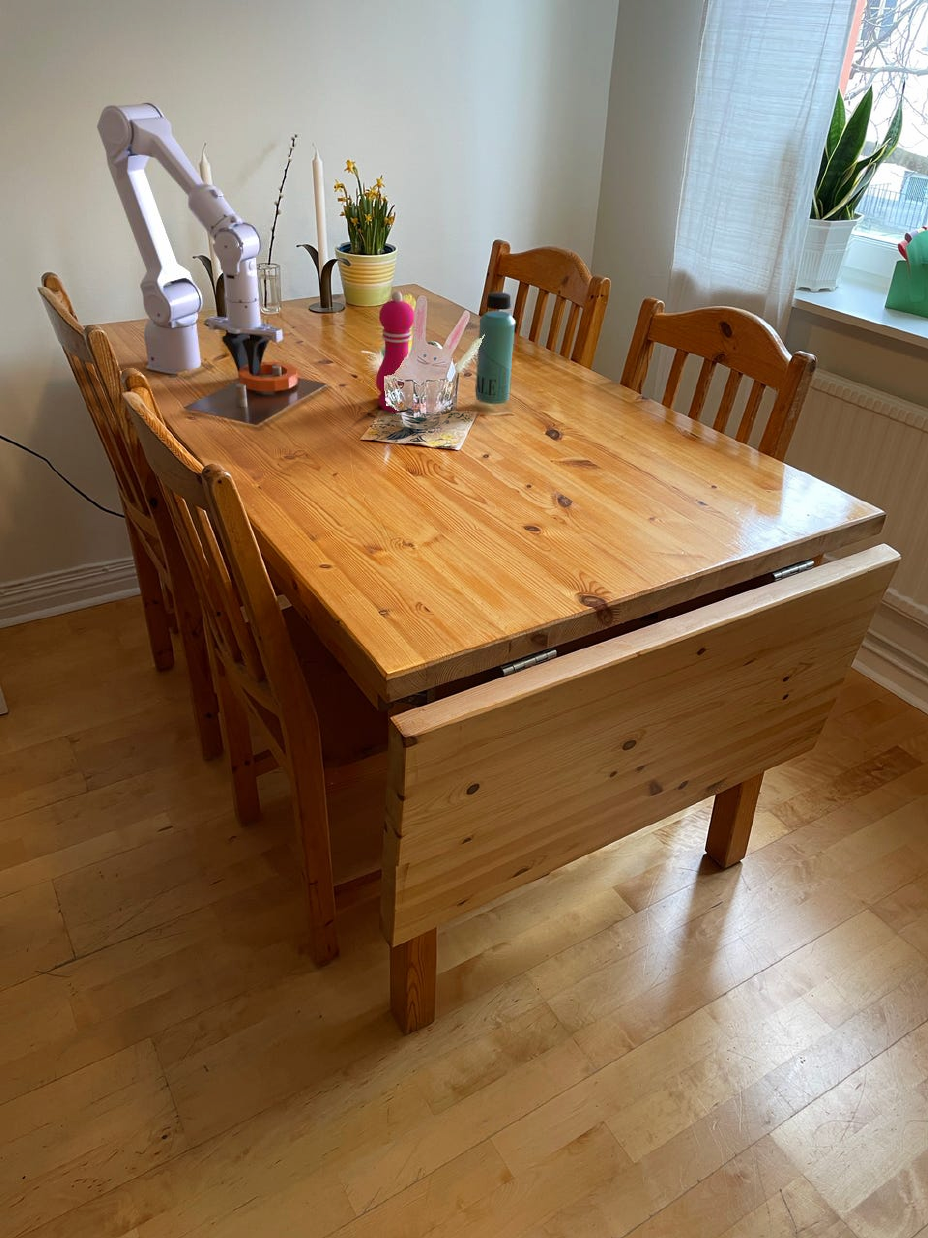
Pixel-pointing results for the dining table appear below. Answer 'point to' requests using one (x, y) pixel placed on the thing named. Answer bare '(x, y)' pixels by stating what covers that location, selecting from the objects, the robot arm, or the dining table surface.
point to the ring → (269, 383)
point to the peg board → (253, 400)
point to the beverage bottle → (495, 351)
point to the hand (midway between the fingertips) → (249, 374)
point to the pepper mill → (394, 340)
